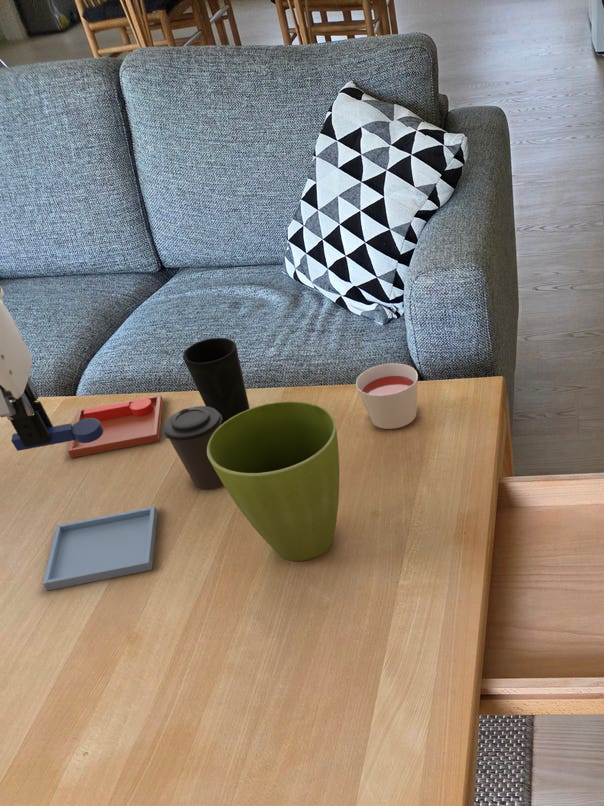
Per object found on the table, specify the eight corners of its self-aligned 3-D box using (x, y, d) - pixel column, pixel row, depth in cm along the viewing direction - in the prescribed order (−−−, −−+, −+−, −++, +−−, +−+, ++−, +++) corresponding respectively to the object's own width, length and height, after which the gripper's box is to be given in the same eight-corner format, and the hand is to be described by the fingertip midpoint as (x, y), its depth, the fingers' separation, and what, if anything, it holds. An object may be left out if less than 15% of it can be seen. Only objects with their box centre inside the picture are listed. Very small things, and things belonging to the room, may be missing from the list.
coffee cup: (207, 457, 127) (184, 396, 120) (252, 467, 124) (231, 405, 117) (172, 489, 122) (146, 427, 115) (218, 500, 119) (194, 437, 112)
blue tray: (46, 590, 109) (42, 583, 108) (60, 532, 117) (56, 525, 117) (152, 569, 110) (148, 562, 109) (158, 513, 118) (154, 506, 118)
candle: (363, 406, 133) (355, 368, 128) (421, 397, 133) (415, 359, 129) (364, 438, 127) (356, 399, 122) (425, 429, 127) (419, 390, 122)
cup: (269, 416, 133) (246, 343, 125) (234, 442, 129) (209, 368, 121) (233, 405, 137) (209, 333, 128) (198, 430, 133) (171, 357, 124)
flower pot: (329, 592, 104) (296, 482, 92) (223, 572, 108) (180, 464, 97) (381, 516, 113) (357, 408, 102) (282, 500, 118) (249, 395, 106)
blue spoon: (16, 456, 105) (9, 445, 103) (19, 439, 107) (13, 428, 105) (102, 440, 105) (97, 429, 104) (104, 423, 108) (99, 412, 106)
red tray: (70, 457, 130) (67, 451, 130) (80, 416, 139) (77, 409, 138) (159, 441, 131) (156, 434, 131) (163, 401, 140) (160, 394, 139)
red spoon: (86, 426, 136) (82, 417, 135) (89, 415, 138) (85, 406, 137) (152, 414, 137) (149, 405, 135) (154, 403, 139) (150, 394, 138)
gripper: (-59, 267, 97) (19, 412, 110) (-94, 328, 86) (-3, 481, 100) (9, 255, 98) (78, 400, 111) (-18, 314, 87) (63, 468, 100)
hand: (39, 437), depth 105 cm, fingers closed on blue spoon, 1 cm apart
